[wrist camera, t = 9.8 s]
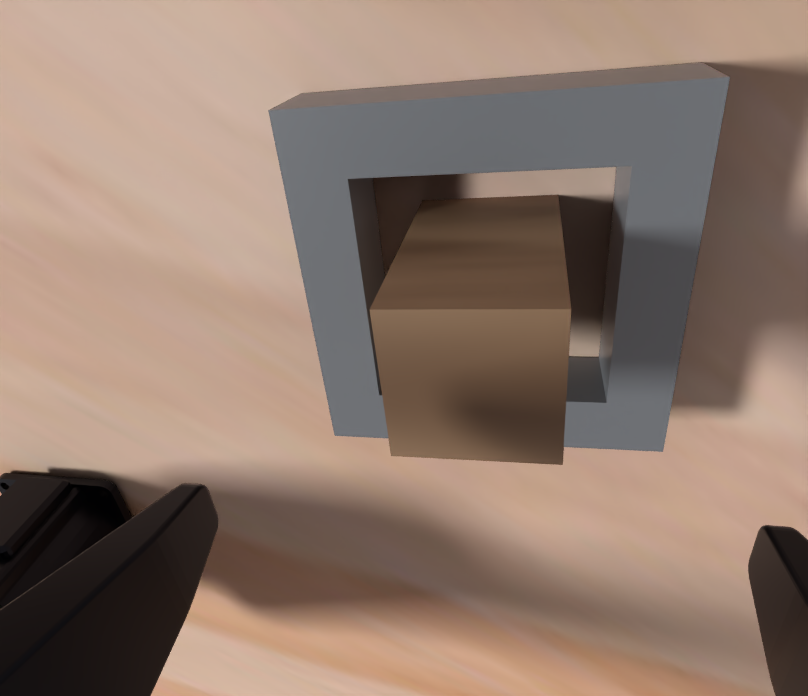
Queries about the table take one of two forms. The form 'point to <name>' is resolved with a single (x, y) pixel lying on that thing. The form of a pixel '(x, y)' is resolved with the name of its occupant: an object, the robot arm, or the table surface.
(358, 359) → the square well
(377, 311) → the walnut post
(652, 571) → the table surface
